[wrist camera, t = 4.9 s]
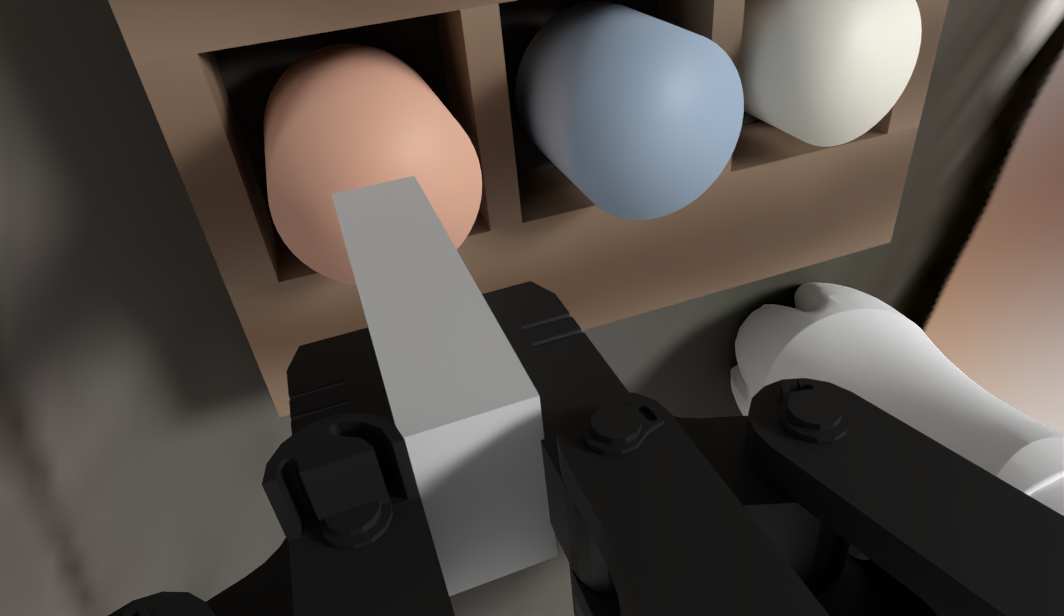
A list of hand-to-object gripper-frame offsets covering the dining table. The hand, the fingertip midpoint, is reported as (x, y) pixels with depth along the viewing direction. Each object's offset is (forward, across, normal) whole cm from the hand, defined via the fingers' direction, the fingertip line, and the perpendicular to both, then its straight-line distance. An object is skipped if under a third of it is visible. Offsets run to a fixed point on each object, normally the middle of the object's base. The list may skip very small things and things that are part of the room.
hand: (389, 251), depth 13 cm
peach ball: (+6, 0, 0) cm, 6 cm away
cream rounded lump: (+7, +13, 0) cm, 15 cm away
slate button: (+6, +7, 0) cm, 9 cm away
